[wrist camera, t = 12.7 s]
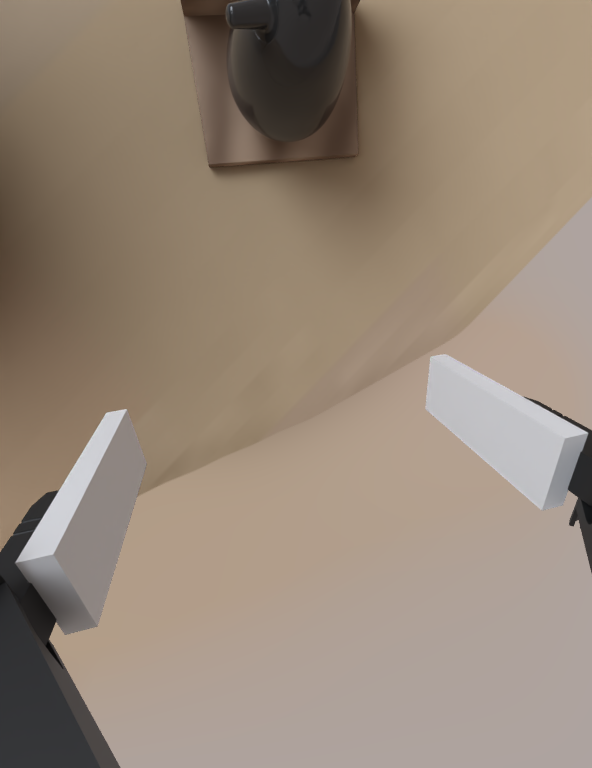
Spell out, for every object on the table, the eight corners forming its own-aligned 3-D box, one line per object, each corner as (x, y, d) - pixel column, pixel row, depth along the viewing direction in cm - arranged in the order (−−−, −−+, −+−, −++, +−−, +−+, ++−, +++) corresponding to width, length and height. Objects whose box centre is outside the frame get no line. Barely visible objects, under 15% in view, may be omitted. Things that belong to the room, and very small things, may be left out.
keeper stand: (209, 167, 35) (194, 112, 22) (180, -7, 30) (139, -204, 18) (354, 156, 37) (417, 100, 24) (349, -9, 32) (424, -188, 19)
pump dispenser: (207, 49, 31) (182, -126, 17) (309, 9, 31) (369, -197, 17) (251, 169, 35) (261, 107, 21) (342, 133, 35) (412, 46, 21)
